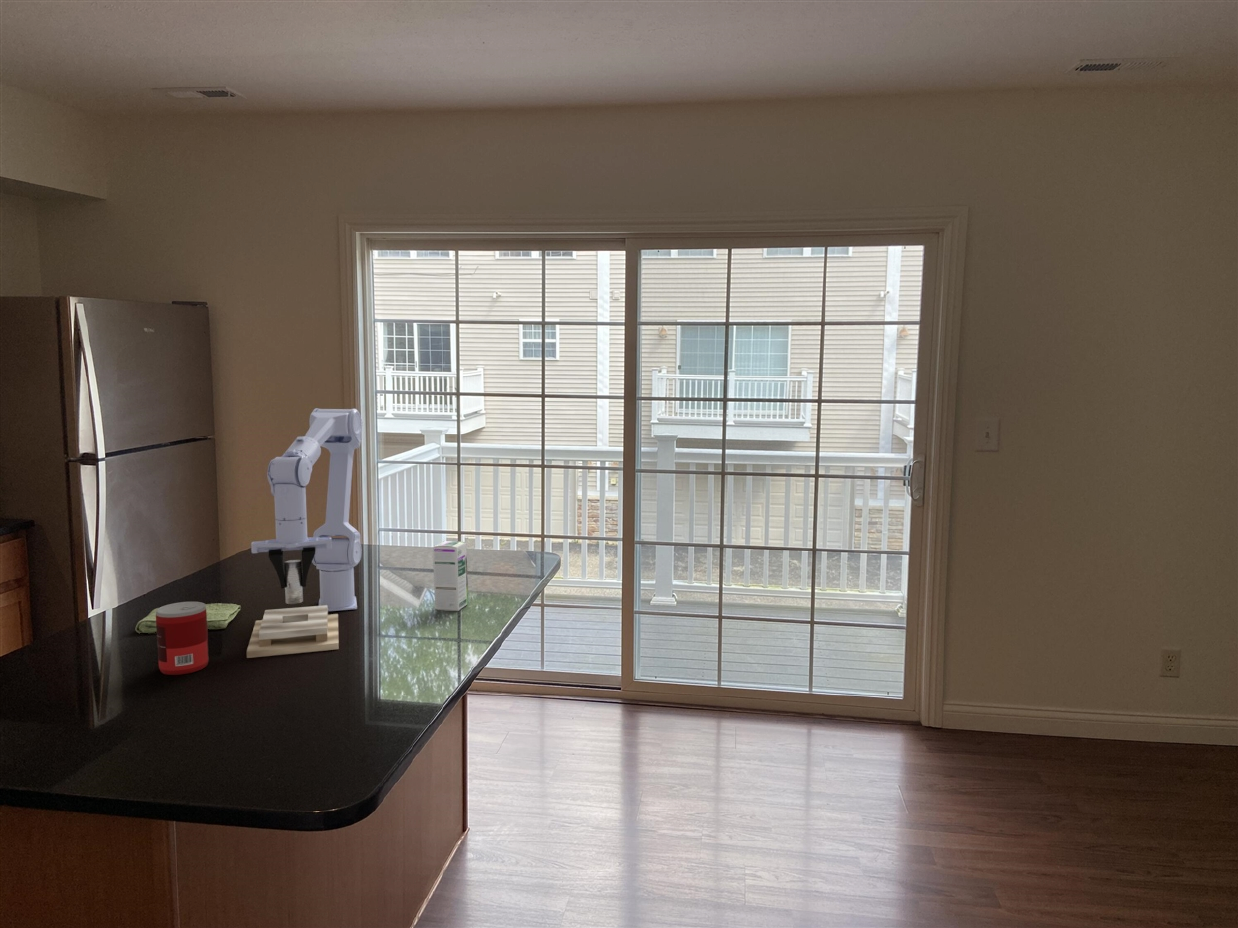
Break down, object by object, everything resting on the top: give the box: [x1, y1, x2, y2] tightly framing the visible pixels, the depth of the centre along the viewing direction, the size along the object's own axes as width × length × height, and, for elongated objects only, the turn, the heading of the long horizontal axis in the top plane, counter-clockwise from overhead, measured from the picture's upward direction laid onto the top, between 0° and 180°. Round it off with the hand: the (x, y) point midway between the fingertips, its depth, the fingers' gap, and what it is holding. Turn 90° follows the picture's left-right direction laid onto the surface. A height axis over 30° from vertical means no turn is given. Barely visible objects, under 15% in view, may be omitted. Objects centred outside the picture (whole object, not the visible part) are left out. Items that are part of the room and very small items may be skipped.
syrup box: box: [432, 540, 469, 612], centre depth 187 cm, size 6×6×14 cm
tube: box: [284, 559, 304, 605], centre depth 165 cm, size 3×3×8 cm
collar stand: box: [246, 605, 340, 659], centre depth 166 cm, size 20×16×4 cm
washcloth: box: [134, 602, 242, 634], centre depth 175 cm, size 13×18×3 cm
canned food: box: [156, 601, 210, 676], centre depth 149 cm, size 8×8×11 cm
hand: (293, 586), depth 165 cm, fingers closed on tube, 3 cm apart
